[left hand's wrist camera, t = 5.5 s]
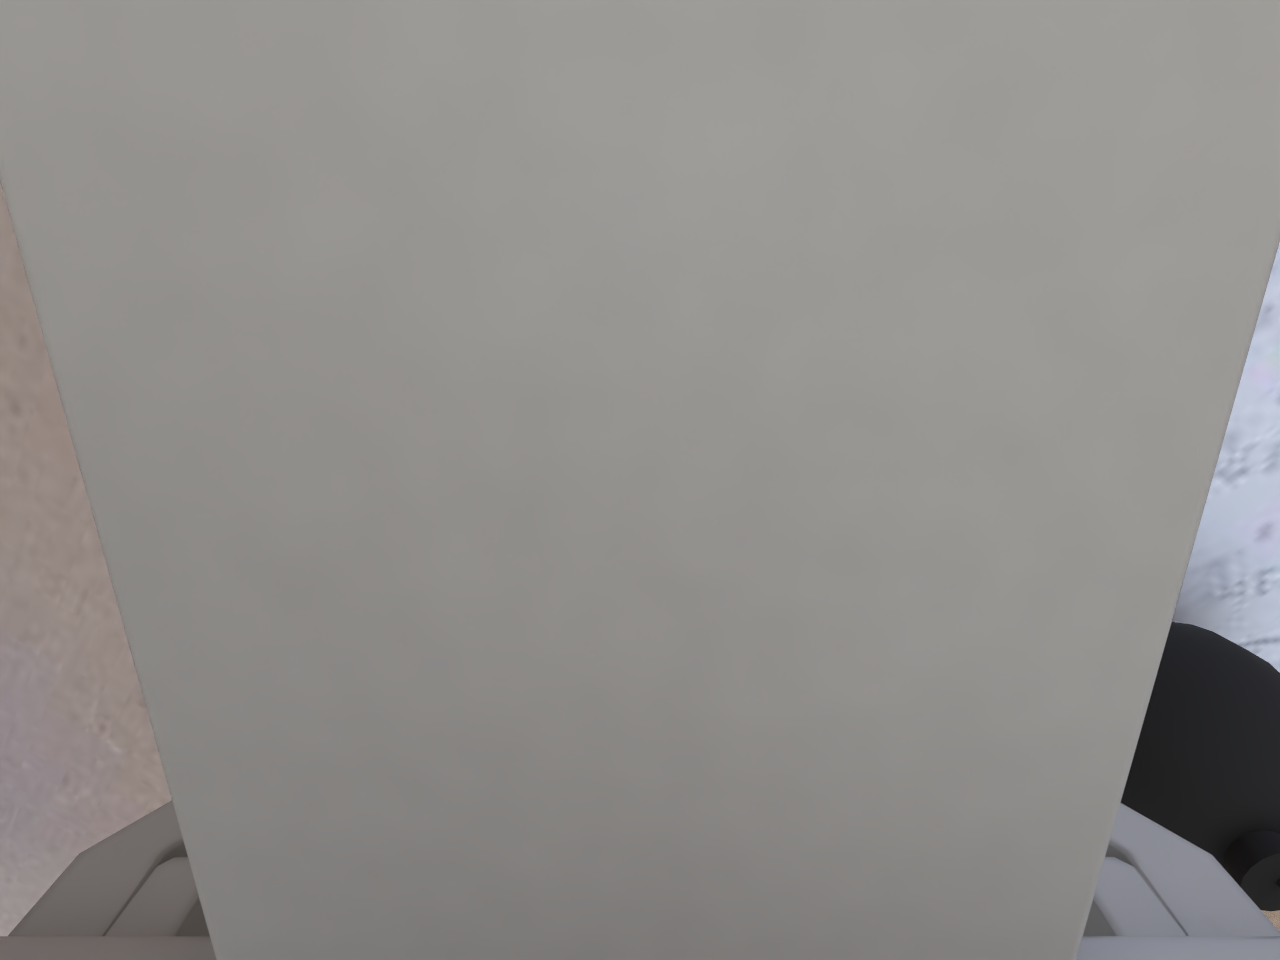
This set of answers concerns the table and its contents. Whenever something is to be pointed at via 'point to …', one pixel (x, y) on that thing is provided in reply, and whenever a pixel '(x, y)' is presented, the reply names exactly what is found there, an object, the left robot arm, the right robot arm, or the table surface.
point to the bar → (645, 446)
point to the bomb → (1214, 757)
